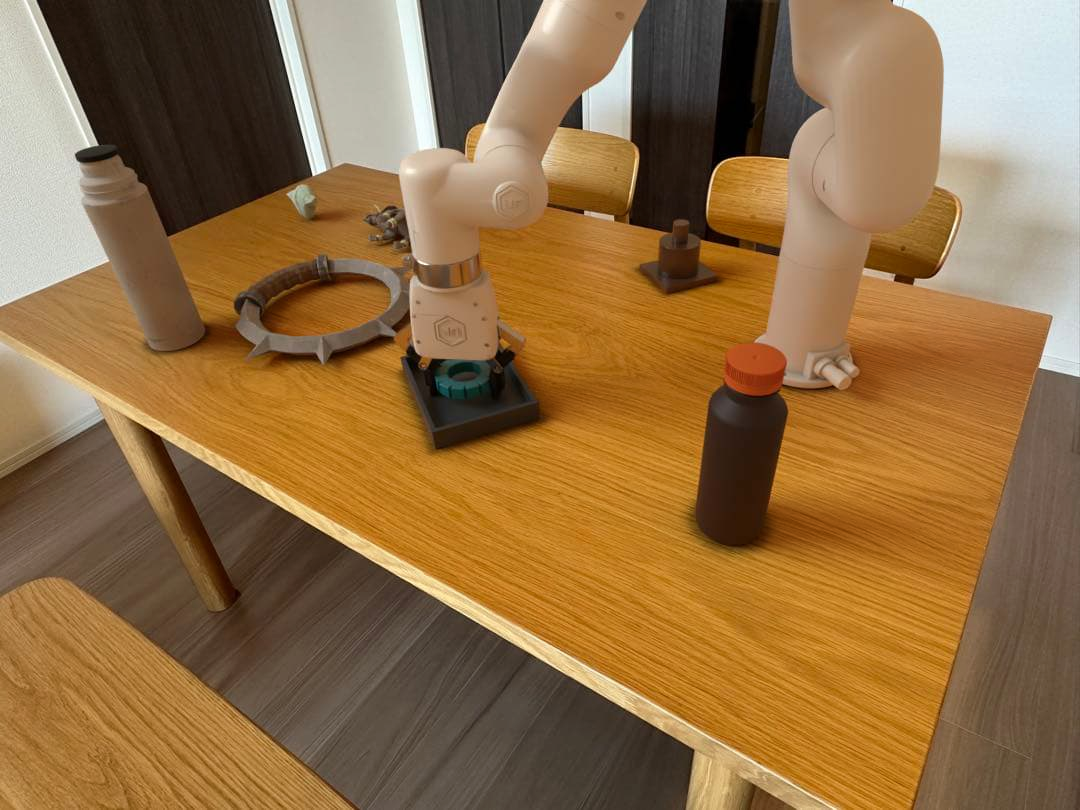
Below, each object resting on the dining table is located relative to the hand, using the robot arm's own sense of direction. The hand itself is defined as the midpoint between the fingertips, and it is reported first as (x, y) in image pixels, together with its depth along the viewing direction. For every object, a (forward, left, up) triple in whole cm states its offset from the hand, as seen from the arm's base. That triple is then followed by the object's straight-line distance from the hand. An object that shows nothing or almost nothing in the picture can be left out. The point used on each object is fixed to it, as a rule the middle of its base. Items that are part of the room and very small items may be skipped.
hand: (466, 390), depth 89 cm
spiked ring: (+28, +13, -1) cm, 31 cm away
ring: (0, 0, +2) cm, 2 cm away
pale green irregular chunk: (+70, +12, -1) cm, 71 cm away
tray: (0, 0, -1) cm, 1 cm away
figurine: (+54, -5, -1) cm, 54 cm away
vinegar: (-32, -18, -1) cm, 37 cm away
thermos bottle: (+33, +36, -1) cm, 49 cm away
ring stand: (+16, -40, -1) cm, 43 cm away
